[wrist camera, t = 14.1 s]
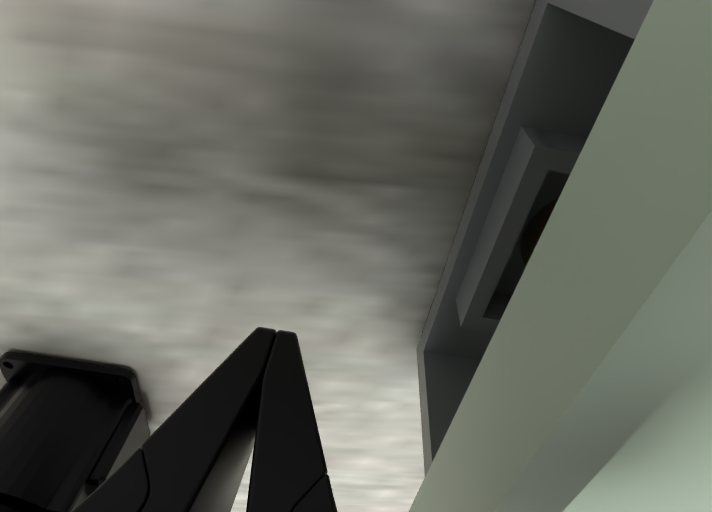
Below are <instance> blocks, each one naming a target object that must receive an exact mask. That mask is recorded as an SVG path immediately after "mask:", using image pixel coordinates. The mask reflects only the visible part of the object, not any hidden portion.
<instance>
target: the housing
mask: <svg viewBox="0 0 712 512" xmlns="http://www.w3.org/2000/svg"><path fill="white" fill-rule="evenodd" d="M653 1H654V0H536V2H535V5H534V8H533V11H532V14H531V17H530V20H529V23H528V25H527V28H526V31H525V34H524V37H523V40H522V43H521V46H520V49H519V52H518V55H517V58H516V61H515V63H514V66H513V69H512V72H511V75H510V78H509V81H508V84H507V87H506V90H505V93H504V96H503V99H502V101H501V104H500V107H499V110H498V113H497V116H496V119H495V122H494V125H493V128H492V131H491V134H490V137H489V140H488V142H487V145H486V148H485V151H484V154H483V157H482V160H481V163H480V166H479V169H478V172H477V175H476V178H475V180H474V183H473V186H472V189H471V192H470V195H469V198H468V201H467V204H466V207H465V210H464V213H463V216H462V218H461V221H460V224H459V227H458V230H457V233H456V236H455V239H454V242H453V245H452V248H451V251H450V254H449V257H448V259H447V262H446V265H445V268H444V271H443V274H442V277H441V280H440V283H439V286H438V289H437V292H436V295H435V297H434V300H433V303H432V306H431V309H430V312H429V315H428V318H427V321H426V324H425V327H424V330H423V333H422V335H421V338H420V341H419V344H418V347H417V362H418V377H419V393H420V408H421V424H422V439H423V455H424V470H425V476H426V474H427V472H428V470H429V468H430V466H431V464H432V462H433V460H434V458H435V456H436V454H437V451H438V449H439V447H440V445H441V443H442V441H443V439H444V437H445V435H446V433H447V431H448V428H449V426H450V424H451V422H452V420H453V418H454V416H455V414H456V412H457V410H458V408H459V406H460V403H461V401H462V399H463V397H464V395H465V393H466V391H467V389H468V387H469V385H470V383H471V380H472V378H473V376H474V374H475V372H476V370H477V368H478V366H479V364H480V362H481V360H482V358H483V355H484V353H485V351H486V349H487V347H488V345H489V343H490V341H491V339H492V337H493V335H494V332H495V330H496V328H497V326H498V324H499V322H500V320H501V318H502V316H503V314H504V312H505V310H506V307H507V305H508V303H509V301H510V299H511V297H512V295H513V293H514V291H515V289H516V287H517V284H518V282H519V280H520V278H521V276H522V274H523V272H524V270H525V268H526V266H527V264H528V261H529V259H530V257H531V255H532V253H533V251H534V249H535V247H536V245H537V243H538V241H539V239H540V236H541V234H542V232H543V230H544V228H545V226H546V224H547V222H548V220H549V218H550V216H551V213H552V211H553V209H554V207H555V205H556V203H557V201H558V199H559V197H560V195H561V193H562V191H563V188H564V186H565V184H566V182H567V180H568V178H569V176H570V174H571V172H572V170H573V168H574V165H575V163H576V161H577V159H578V157H579V155H580V153H581V151H582V149H583V147H584V145H585V143H586V140H587V138H588V136H589V134H590V132H591V130H592V128H593V126H594V124H595V122H596V120H597V117H598V115H599V113H600V111H601V109H602V107H603V105H604V103H605V101H606V99H607V97H608V95H609V92H610V90H611V88H612V86H613V84H614V82H615V80H616V78H617V76H618V74H619V72H620V69H621V67H622V65H623V63H624V61H625V59H626V57H627V55H628V53H629V51H630V49H631V47H632V44H633V42H634V40H635V38H636V36H637V34H638V32H639V30H640V28H641V26H642V24H643V21H644V19H645V17H646V15H647V13H648V11H649V9H650V7H651V5H652V3H653Z"/></svg>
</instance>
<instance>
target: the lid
mask: <svg viewBox="0 0 712 512" xmlns="http://www.w3.org/2000/svg"><path fill="white" fill-rule="evenodd" d="M409 512H712V0H654V1H653V3H652V5H651V7H650V9H649V11H648V13H647V15H646V17H645V19H644V21H643V24H642V26H641V28H640V30H639V32H638V34H637V36H636V38H635V40H634V42H633V44H632V47H631V49H630V51H629V53H628V55H627V57H626V59H625V61H624V63H623V65H622V67H621V69H620V72H619V74H618V76H617V78H616V80H615V82H614V84H613V86H612V88H611V90H610V92H609V95H608V97H607V99H606V101H605V103H604V105H603V107H602V109H601V111H600V113H599V115H598V117H597V120H596V122H595V124H594V126H593V128H592V130H591V132H590V134H589V136H588V138H587V140H586V143H585V145H584V147H583V149H582V151H581V153H580V155H579V157H578V159H577V161H576V163H575V165H574V168H573V170H572V172H571V174H570V176H569V178H568V180H567V182H566V184H565V186H564V188H563V191H562V193H561V195H560V197H559V199H558V201H557V203H556V205H555V207H554V209H553V211H552V213H551V216H550V218H549V220H548V222H547V224H546V226H545V228H544V230H543V232H542V234H541V236H540V239H539V241H538V243H537V245H536V247H535V249H534V251H533V253H532V255H531V257H530V259H529V261H528V264H527V266H526V268H525V270H524V272H523V274H522V276H521V278H520V280H519V282H518V284H517V287H516V289H515V291H514V293H513V295H512V297H511V299H510V301H509V303H508V305H507V307H506V310H505V312H504V314H503V316H502V318H501V320H500V322H499V324H498V326H497V328H496V330H495V332H494V335H493V337H492V339H491V341H490V343H489V345H488V347H487V349H486V351H485V353H484V355H483V358H482V360H481V362H480V364H479V366H478V368H477V370H476V372H475V374H474V376H473V378H472V380H471V383H470V385H469V387H468V389H467V391H466V393H465V395H464V397H463V399H462V401H461V403H460V406H459V408H458V410H457V412H456V414H455V416H454V418H453V420H452V422H451V424H450V426H449V428H448V431H447V433H446V435H445V437H444V439H443V441H442V443H441V445H440V447H439V449H438V451H437V454H436V456H435V458H434V460H433V462H432V464H431V466H430V468H429V470H428V472H427V474H426V476H425V479H424V481H423V483H422V485H421V487H420V489H419V491H418V493H417V495H416V497H415V499H414V502H413V504H412V506H411V508H410V510H409Z"/></svg>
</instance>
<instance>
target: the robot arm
mask: <svg viewBox="0 0 712 512" xmlns="http://www.w3.org/2000/svg"><path fill="white" fill-rule="evenodd" d="M0 369H1V371H2V373H3V375H4V377H5V379H6V381H7V383H6V384H5V385H4V386H3V387H2V388H1V390H0V512H230V511H231V508H232V506H233V503H234V500H235V497H236V494H237V491H238V488H239V486H240V483H241V480H242V477H243V474H244V471H245V469H246V466H247V463H248V460H249V457H250V454H251V452H252V449H253V446H254V450H253V459H252V467H251V475H250V484H249V492H248V500H247V509H246V512H337V508H336V504H335V501H334V497H333V493H332V488H331V484H330V479H329V476H328V475H327V467H326V463H325V458H324V454H323V449H322V445H321V440H320V436H319V431H318V427H317V423H316V418H315V414H314V409H313V405H312V400H311V396H310V391H309V387H308V382H307V378H306V374H305V369H304V365H303V360H302V356H301V351H300V347H299V342H298V338H297V335H296V333H294V332H289V331H282V330H279V331H278V332H276V330H275V329H270V328H263V327H258V328H256V329H255V330H254V331H253V332H252V333H251V334H250V335H249V336H248V337H247V338H246V339H245V340H244V341H243V342H242V343H241V344H240V345H239V346H238V347H237V348H236V349H235V350H234V351H233V352H232V353H231V354H230V355H229V357H228V358H227V359H226V360H225V361H224V362H223V363H222V364H221V365H220V366H219V367H218V368H217V369H216V370H215V371H214V372H213V373H212V374H211V375H210V376H209V377H208V378H207V379H206V380H205V381H204V382H203V383H202V384H201V385H200V386H199V387H198V388H197V389H196V390H195V391H194V392H193V393H192V394H191V395H190V396H189V397H188V398H187V399H186V400H185V401H184V402H183V403H182V404H181V405H180V406H179V407H178V408H177V409H176V410H175V411H174V412H173V413H172V414H171V415H170V416H169V417H168V419H167V420H166V421H165V422H164V423H163V424H162V425H161V426H160V427H159V428H158V429H157V430H156V431H155V432H154V433H153V434H152V435H151V436H150V437H149V428H148V424H147V419H146V415H145V410H144V407H143V405H142V403H141V399H140V394H139V390H138V385H137V381H136V377H135V375H134V373H132V372H131V371H129V370H127V369H122V368H115V367H109V366H102V365H95V364H88V363H81V362H75V361H68V360H61V359H54V358H47V357H40V356H34V355H27V354H20V353H13V352H6V353H4V354H3V355H2V356H1V357H0Z"/></svg>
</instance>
